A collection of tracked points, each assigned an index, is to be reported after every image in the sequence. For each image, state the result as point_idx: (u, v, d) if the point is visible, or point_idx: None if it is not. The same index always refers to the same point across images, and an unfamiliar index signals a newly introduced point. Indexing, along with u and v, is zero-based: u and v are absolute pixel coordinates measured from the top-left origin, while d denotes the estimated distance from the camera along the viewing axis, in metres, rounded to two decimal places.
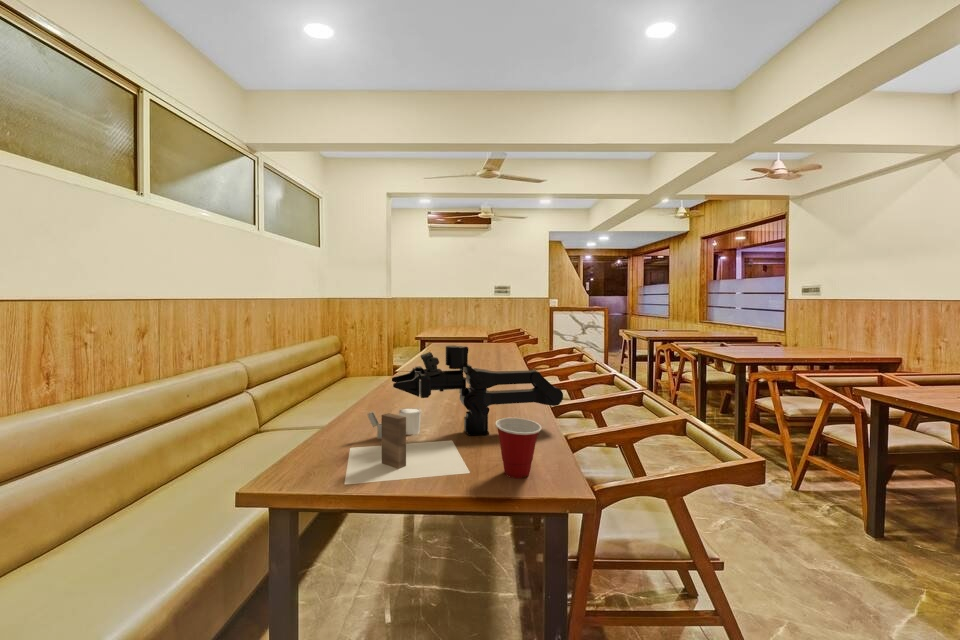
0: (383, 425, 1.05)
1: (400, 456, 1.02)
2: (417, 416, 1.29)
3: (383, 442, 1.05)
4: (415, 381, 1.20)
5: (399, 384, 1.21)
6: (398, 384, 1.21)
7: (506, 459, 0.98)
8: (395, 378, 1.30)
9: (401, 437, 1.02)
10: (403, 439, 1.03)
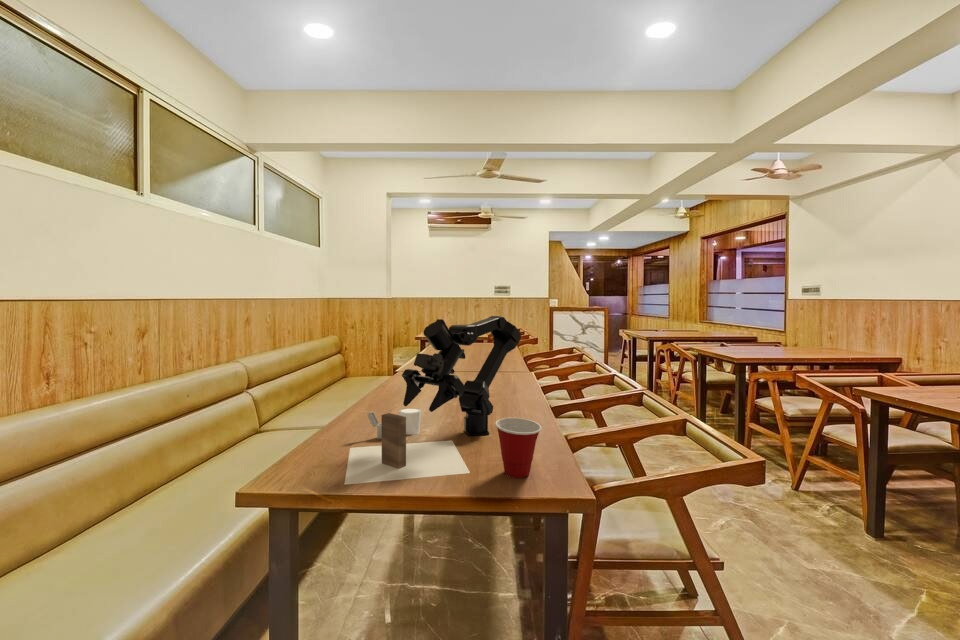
0: (383, 425, 1.05)
1: (400, 456, 1.02)
2: (417, 416, 1.29)
3: (383, 442, 1.05)
4: (444, 389, 1.09)
5: (434, 405, 1.08)
6: (433, 406, 1.08)
7: (506, 459, 0.98)
8: (406, 401, 1.14)
9: (401, 437, 1.02)
10: (403, 439, 1.03)
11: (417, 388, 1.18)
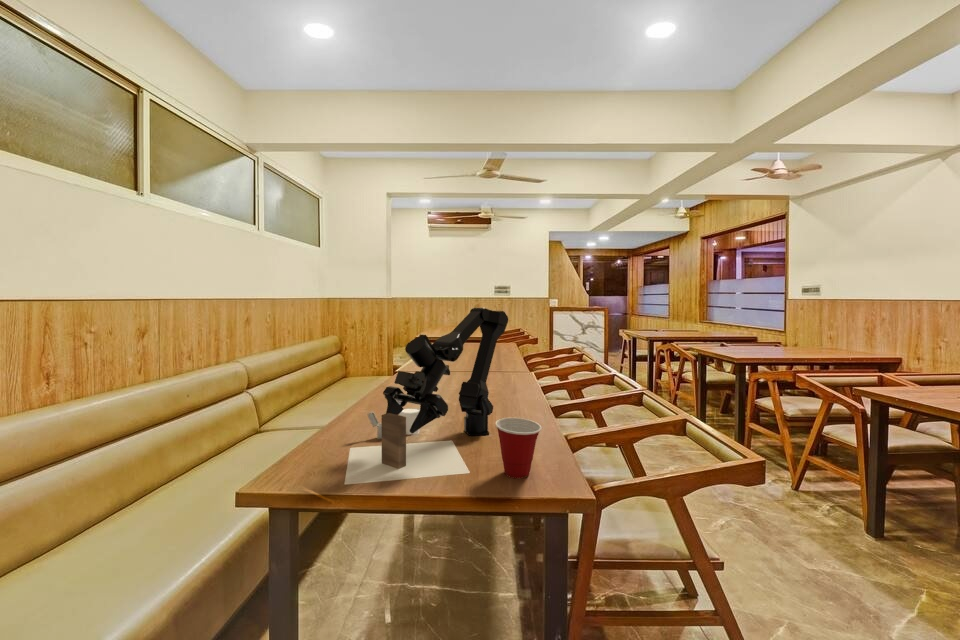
0: (383, 425, 1.05)
1: (400, 456, 1.02)
2: None
3: (383, 442, 1.05)
4: (426, 409, 1.04)
5: (415, 426, 1.03)
6: (415, 427, 1.03)
7: (506, 459, 0.98)
8: None
9: (401, 437, 1.02)
10: (403, 439, 1.03)
11: (399, 407, 1.13)
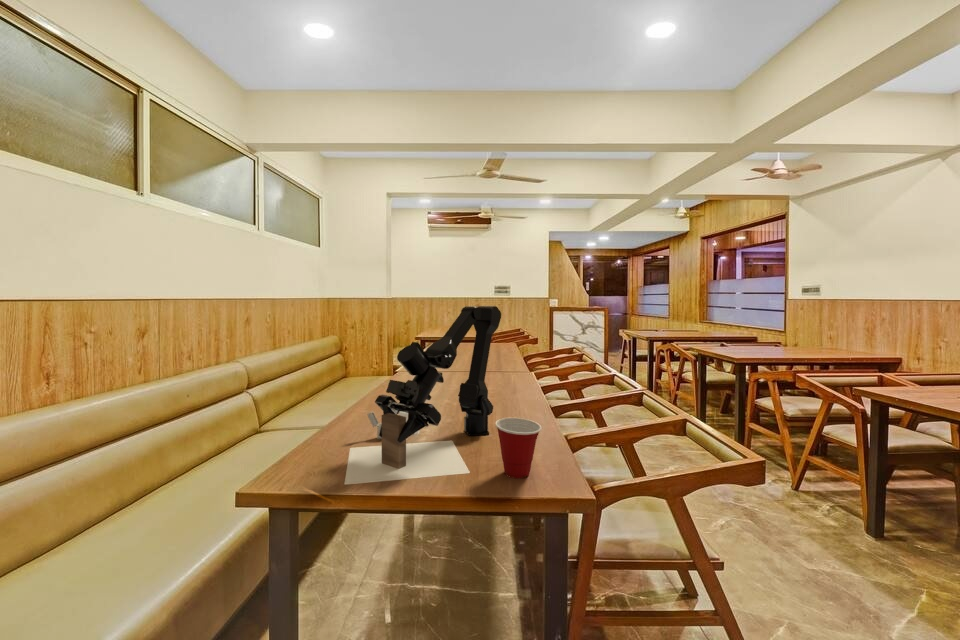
0: (383, 425, 1.05)
1: (400, 456, 1.02)
2: None
3: (383, 442, 1.05)
4: (414, 418, 1.03)
5: (403, 435, 1.02)
6: (402, 436, 1.02)
7: (506, 459, 0.98)
8: None
9: None
10: None
11: None
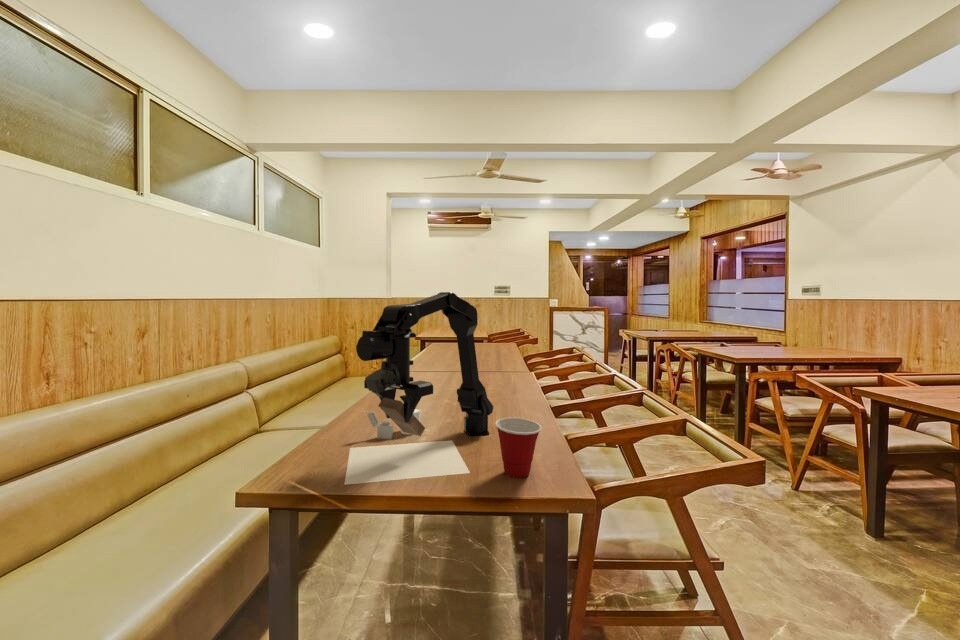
0: (385, 411, 1.05)
1: (416, 428, 1.06)
2: (417, 416, 1.29)
3: (394, 421, 1.08)
4: (409, 399, 1.01)
5: (408, 416, 1.03)
6: (407, 417, 1.03)
7: (506, 459, 0.98)
8: None
9: None
10: None
11: (391, 391, 1.08)
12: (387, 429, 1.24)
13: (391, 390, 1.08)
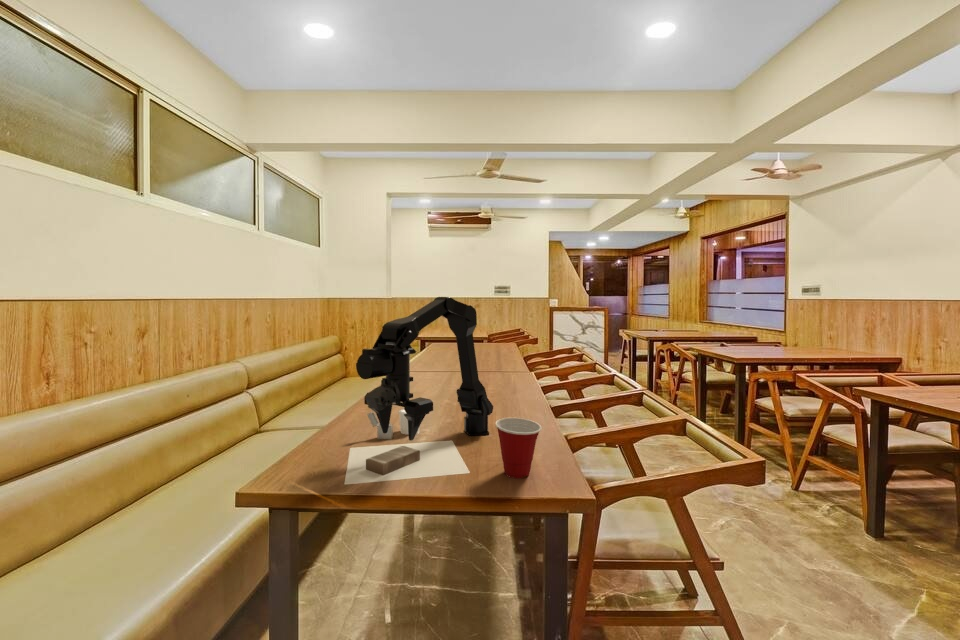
0: None
1: (411, 461, 1.06)
2: None
3: None
4: (413, 417, 1.01)
5: (412, 434, 1.02)
6: (412, 435, 1.02)
7: (506, 459, 0.98)
8: (384, 429, 1.08)
9: (398, 465, 1.02)
10: (400, 461, 1.02)
11: (387, 406, 1.09)
12: None
13: (387, 405, 1.09)
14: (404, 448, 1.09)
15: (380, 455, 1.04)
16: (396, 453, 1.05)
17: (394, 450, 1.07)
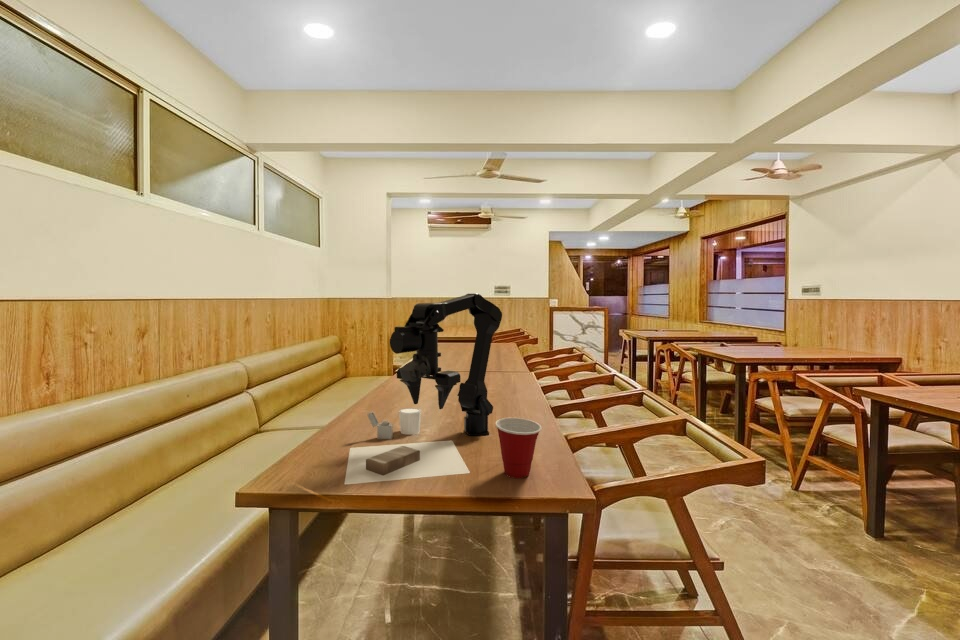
0: None
1: (411, 461, 1.06)
2: (417, 416, 1.29)
3: None
4: (443, 388, 1.12)
5: (442, 403, 1.14)
6: (441, 404, 1.14)
7: (506, 459, 0.98)
8: (415, 400, 1.19)
9: (398, 465, 1.02)
10: (400, 461, 1.02)
11: (417, 380, 1.21)
12: (387, 429, 1.24)
13: None
14: (404, 448, 1.09)
15: (380, 455, 1.04)
16: (396, 453, 1.05)
17: (394, 450, 1.07)
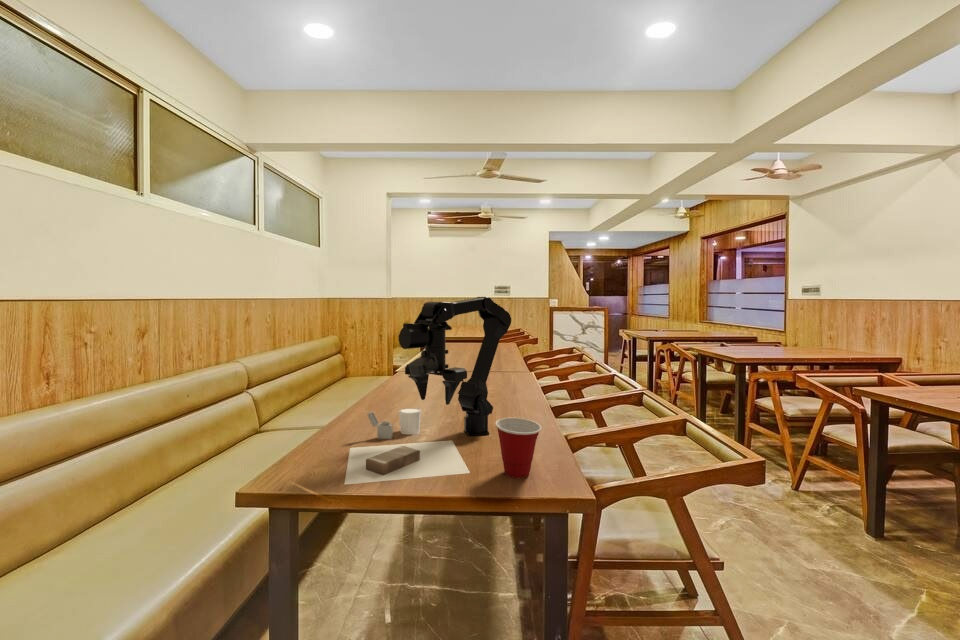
0: None
1: (411, 461, 1.06)
2: (417, 416, 1.29)
3: None
4: (450, 384, 1.15)
5: (448, 398, 1.17)
6: (448, 399, 1.17)
7: (506, 459, 0.98)
8: (422, 396, 1.23)
9: (398, 465, 1.02)
10: (400, 461, 1.02)
11: (424, 377, 1.24)
12: (387, 429, 1.24)
13: (424, 375, 1.24)
14: (404, 448, 1.09)
15: (380, 455, 1.04)
16: (396, 453, 1.05)
17: (394, 450, 1.07)
